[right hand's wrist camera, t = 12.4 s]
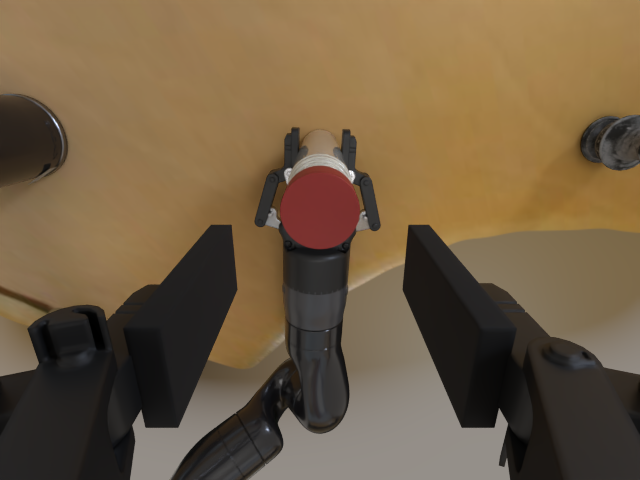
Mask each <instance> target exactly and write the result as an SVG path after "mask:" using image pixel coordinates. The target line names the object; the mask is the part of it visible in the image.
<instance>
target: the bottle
mask: <svg viewBox="0 0 640 480" xmlns="http://www.w3.org/2000/svg"><path fill="white" fill-rule="evenodd" d="M312 166H328V167H332V168H334V169H337V170H338V171H340V172H342V173H343V174H344V175H345V176H346V177H347V178H348V179H349V180H350V182H351V183H352V179H351V175H350V173H349V170H348V168H347V165H346V162H345V160H344V157H343V155H342V152H341V150H340V147H339V144H338V142H337V140H336V138H335V137H334V135H333V134H331V133H330V132H328V131H326V130H314V131H312V132H310V133H309V134H307V135H306V137H305V138H304V140H303V142H302V145H301V147H300V150H299V152H298V155H297V157H296V160H295V162H294V165H293V168H292V170H291V173H290V175H289V179H288V183H289V182H290V180H291V179H292V178H293V177H294V176H295V175H296V174H297V173H298V172H300V171H302V170H303V169H306V168H308V167H312Z"/></svg>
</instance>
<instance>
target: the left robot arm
mask: <svg viewBox="0 0 640 480" xmlns="http://www.w3.org/2000/svg"><path fill="white" fill-rule="evenodd" d="M299 134H300V128H297V127H293V128H292V131H291V133H287V135H286V137H285V163H284V166H283V167H282V168H279V169H274V170H272V171H271V172H270V173H269V175H268V176H267V178H266V182H265V185H264V189H263V193H262V196H261V200H260V203H259V207H258V210H257V214H256V217H255V224H256V225H257V226H258V227H263V226H264V225H267V226H271V227H274V228H277V229H279V232H280V234H281V236H282V238H283V285H282V291H283V301H284V308H285V342H286V349H287V352H288V354H289V356H290V358H289V359H287V360H286V361H284V362H283V363H282V364H281V365H280V366H279V367H278V368H277V369H276V370H275V371H274V372H273V374H272V375H271V376H270V377H269V378H268V380H267V381H266V382H265V383H264V384H263V385H262V387H261V388H260V389H259V390H258V391H257V392H256V394H255V395H254V396H253V397H252V398H251V400H250V401H249V402H248V403H247V404H246V405H245V406H244V407H243V408H242V409H240V410H239V411H237V412H236V414H233V415H232V416H231V417H229V418H228V419H226V420H225V421H224V422H222V423H221V424H220V425H218V426H217V427H216V428H214V429H213V430H212V431H210V432H209V433H208V434H206V435H205V436H204V437H203V438H202V439H201V440H200V441H198V442H197V443H196V444H195V446H194V447H193V448H192V449H191V450H190V451H189V452H188V454H187V455H186V456H185V457H184V459H183V460H182V462H181V463H180V464H179V466H178V467H177V469H176V471H175V472H174V474H173V475H172V477H171V478H170V480H248V479H250V478H251V477H252V476H253V475H254V474H256V473H257V472H258V471H259V470H260V469H262V468H263V467H264V466H265V464H268V463H269V462H270V461H271V460H272V459H273V458H275V457H276V456H277V455H278V454H279V453H280V451H281V450H282V448H283V438H282V434H281V432H280V429H279V426H278V421H279V419H280V417H281V416H282V414H283V413H284V411H285V410H286V409H287V408H288V407H289V409H290V410H291V411H292V412H293V414H294V415H295V416H296V418H297V419H298V420H299V422H300V423H301V424H302V425H303V426H304V427H305V428H306V429H307V430H309V431H311V432H313V433H319V434H322V433H326V432H329V431H331V430H333V429H334V428H335V427H336V426H337V425H338V424H339V423H340V422H341V421H342V419H343V417H344V415H345V413H346V411H347V408H348V403H349V383H348V377H347V371H346V366H345V360H344V356H343V352H342V348H341V336H342V323H343V313H344V308H345V304H346V297H347V293H348V285H347V284H348V271H349V257H350V244H351V241H352V239H353V237H354V236H355V234H356V232H357V231H362V230H366V229H371V230H372V231H377V230H379V228H380V226H381V225H380V220H379V215H378V210H377V205H376V200H375V194H374V189H373V184H372V180H371V179H370V178H369V175H368V174H367V173H362V172H360V171H358V170H356V169H355V157H356V143H357V142H356V139H355V137H354V136H350V130H349V129H343V130H342V144H341V152H342V155H343V157H344V160H345V162H346V165H347V168H348V170H349V173H350V175H351V179H352V184H356V185H358V186H360V191H361V195H362V200H363V205H364V209H362V210H361V211H360V216H359V221H358V224H357V226H356V228H355V230H354V232H353V233H352V234H351V235H350V237H349V238H348V239H346V240H345V241H344V242H342V243H341V244H339V245H337V246H334V247H332V248H327V249H313V248H308V247H306V246H303V245H301V244H299V243H298V242H296V241H295V240H294V239H292V238H291V237H290V235H289V234H288V233H287V232H286V230H285V228H284V226H283V224H282V221H281V219H280V218H279V217H278V215H277V208H276V207H275V206H272V204H273V200H274V197H275V193H276V190H277V187H278V183H280V182H283V181H286V183H287V185H288V179H289V175H290V173H291V170H292V168H293V165H294V162H295V160H296V157H297V155H298V152H299ZM66 153H67V140H66V136H65V133H64V130H63V128H62V126H61V124H60V122H59V121H58V119H57V118H56V116H55V115H54V114H53V113H52V112H51V111H50V110H49V109H48V108H47V107H46V106H45V105H43V104H42V103H40V102H39V101H37V100H35V99H33V98H31V97H28V96H25V95H20V94H3V95H0V188H1V187H5V186H9V185H12V184H16V183H19V182H23V181H27V180H30V179H34V178H36V179H34V180H33V181H32V182H30V183H29V184H31V183H34V182H36V181H37V180H39V179H40V178H42V177H44V176H47V175H50V174H52V173H54V172H55V171H57V170H58V169H59V168H60V167H61V165H62V164H63V162H64V160H65V158H66ZM27 185H28V184H27Z"/></svg>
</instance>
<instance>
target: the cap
mask: <svg viewBox="0 0 640 480" xmlns="http://www.w3.org/2000/svg"><path fill="white" fill-rule="evenodd" d="M280 216H281V221H282V224H283V226H284V228H285V230H286V232H287V233H288V234H289V235H290V237H291V238H292V239H294V240H295V241H296V242H298V243H299V244H301V245H303V246H306V247H308V248H313V249H327V248H332V247H334V246H337V245H339V244H341V243H342V242H344V241H345V240H346V239H348V238H349V237H350V235H351V234H352V233H353V232H354V230H355V228H356V226H357V224H358V221H359V216H360V205H359V201H358V198H357V195H356V192H355V190H354V187H353V185H352V183H351V182H350V180H349V179H348V178H347V177H346V176H345V175H344V174H343V173H342V172H340V171H338V170H337V169H334V168H332V167H328V166H312V167H308V168H306V169H303V170H302V171H300V172H298V173H297V174H296V175H295V176H294V177H293V178H292V179H291V180H290V182H289V183H288V185H287V187H286V190H285V192H284V195H283V198H282V201H281V205H280Z"/></svg>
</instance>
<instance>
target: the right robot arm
mask: <svg viewBox="0 0 640 480" xmlns="http://www.w3.org/2000/svg"><path fill="white" fill-rule="evenodd" d="M236 292H237V280H236V269H235V258H234V247H233V237H232V226H231V225H211V226H210V227H209V228H208V229H207V230H206V231H205V233H204V234H203V235H202V236H201V237H200V238H199V240H198V241H197V242H196V243H195V244H194V245H193V247H192V248H191V249H190V250H189V251H188V252H187V254H186V255H185V256H184V257H183V258H182V260H181V261H180V262H179V263H178V264H177V265H176V267H175V268H174V269H173V270H172V271H171V272H170V274H169V275H168V276H167V277H166V278H165V279H164V281H163V282H162V283H161V284H160V285H147V286H145V287H143V288H141V289H140V290H138V291H136V292H134V293H133V294H132V295H131V296H130V297H129V298H128V299H127V300H126V301H125V302H124V305H121V306H120V307H119V308H118V310H117V311H116V313H115V314H113V315H112V316H111V317H110V318H109V319H108V320H107V321H106V317H105V313H104V310H103V309H101V308H100V307H98V306H93V305H78V306H72V307H67V308H63V309H60V310H57V311H54V312H52V313H49V314H47V315H45V316H43V317H41V318H40V319H38V320H36V321H35V322H34V323H33V324H32V325H31V326H30V327H29V328H28V332H29V335H30V338H31V341H32V344H33V347H34V350H35V353H36V356H37V359H38V361H39V365H38V366H37V368H36V369H35V370H31V371H26V372H21V373H16V374H11V375H5V376H0V480H130V475H131V468H132V460H133V453H134V446H135V436H134V431H133V427H132V424H133V423H134V421H135V419H136V417H137V415H138V414H139V412H140V410H142V414H143V419H144V423H145V427H146V428H178V427H179V425H180V422H181V420H182V418H183V415H184V413H185V411H186V408H187V406H188V404H189V401H190V399H191V397H192V394H193V392H194V390H195V387H196V385H197V383H198V380H199V378H200V376H201V373H202V371H203V369H204V366H205V364H206V362H207V359H208V357H209V355H210V352H211V350H212V348H213V345H214V343H215V341H216V338H217V336H218V334H219V331H220V329H221V327H222V324H223V322H224V320H225V317H226V315H227V313H228V310H229V308H230V306H231V303H232V301H233V299H234V296H235V294H236ZM403 292H404V294H405V296H406V299H407V301H408V303H409V306H410V308H411V310H412V313H413V315H414V317H415V320H416V322H417V324H418V327H419V329H420V331H421V334H422V336H423V338H424V341H425V343H426V345H427V348H428V350H429V352H430V355H431V357H432V359H433V362H434V364H435V366H436V369H437V371H438V373H439V376H440V378H441V380H442V383H443V385H444V387H445V390H446V392H447V394H448V396H449V399H450V401H451V403H452V406H453V408H454V410H455V413H456V415H457V418H458V420H459V422H460V425H461V427H462V428H494V427H495V423H496V419H497V414H498V410H499V408H500V410H501V412H502V414H503V415H504V417H505V419H506V421H507V422H508V427H507V431H506V435H505V439H504V443H503V447H502V451H501V455H500V461H499V466H503V467H504V466H505V462H506V458H507V459H508V467H509V474H510V480H640V375H638V374H633V373H628V372H623V371H618V370H613V369H608V368H604V367H603V366H602V364H601V362H600V361H599V360H598V359H597V358H596V356H595V355H594V354H592V353H591V352H589V351H588V350H586V349H585V348H583V347H581V346H579V345H577V344H575V343H572V342H570V341H567V340H563V339H560V338H556V337H550V336H549V335H548V334H547V333H546V332H545V331H544V330H543V329H542V328H541V327H540V326H539V325H538V323H537V322H536V321H535V320H534V319H533V318H532V317H531V316H530V315H529V314H528V313H527V312H525V310H524V309H523V308H522V307H521V306H520V305H519V304H517V302H516V301H515V300H514V299H513V297H512V296H511V295H510V294H509V293H508V292H506V291H505V290H503V289H501V288H499V287H498V286H496V285H494V284H492V283H478V282H477V281H476V279H475V278H474V277H473V276H472V275H471V274H470V272H469V271H468V270H467V269H466V268H465V267H464V265H463V264H462V263H461V262H460V261H459V260H458V258H457V257H456V256H455V255H454V254H453V252H452V251H451V250H450V249H449V248H448V247H447V245H446V244H445V243H444V242H443V241H442V240H441V238H440V237H439V236H438V235H437V234H436V233H435V231H434V230H433V229H432V228H431V227H430V226H429V225H409V226H408V236H407V247H406V258H405V269H404V280H403Z"/></svg>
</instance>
